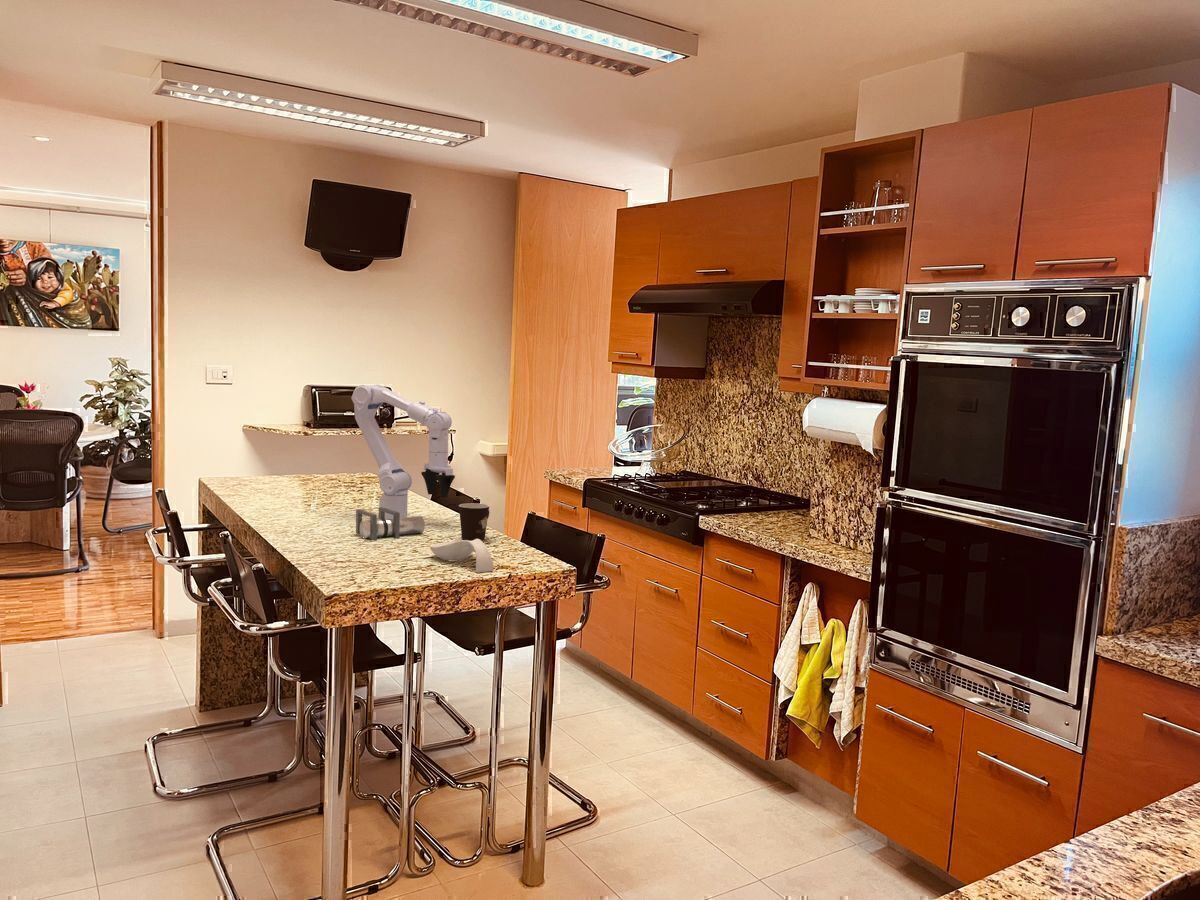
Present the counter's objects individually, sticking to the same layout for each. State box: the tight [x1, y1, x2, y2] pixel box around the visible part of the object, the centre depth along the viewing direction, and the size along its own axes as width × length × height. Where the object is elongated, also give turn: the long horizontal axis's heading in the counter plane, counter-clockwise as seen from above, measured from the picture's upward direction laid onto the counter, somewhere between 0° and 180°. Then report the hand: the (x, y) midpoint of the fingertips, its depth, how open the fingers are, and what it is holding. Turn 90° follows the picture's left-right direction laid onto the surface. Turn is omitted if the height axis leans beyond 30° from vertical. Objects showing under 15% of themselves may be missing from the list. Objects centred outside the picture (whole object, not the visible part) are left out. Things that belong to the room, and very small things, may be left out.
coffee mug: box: [458, 502, 490, 542], centre depth 258 cm, size 12×9×10 cm
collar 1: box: [355, 508, 378, 541], centre depth 255 cm, size 11×1×7 cm, turn 39°
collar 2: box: [378, 506, 400, 539], centre depth 260 cm, size 11×1×7 cm, turn 39°
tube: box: [359, 515, 426, 539], centre depth 259 cm, size 18×5×5 cm
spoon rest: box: [429, 539, 495, 574], centre depth 228 cm, size 24×12×7 cm, turn 37°
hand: (437, 495), depth 276 cm, fingers open, 7 cm apart
